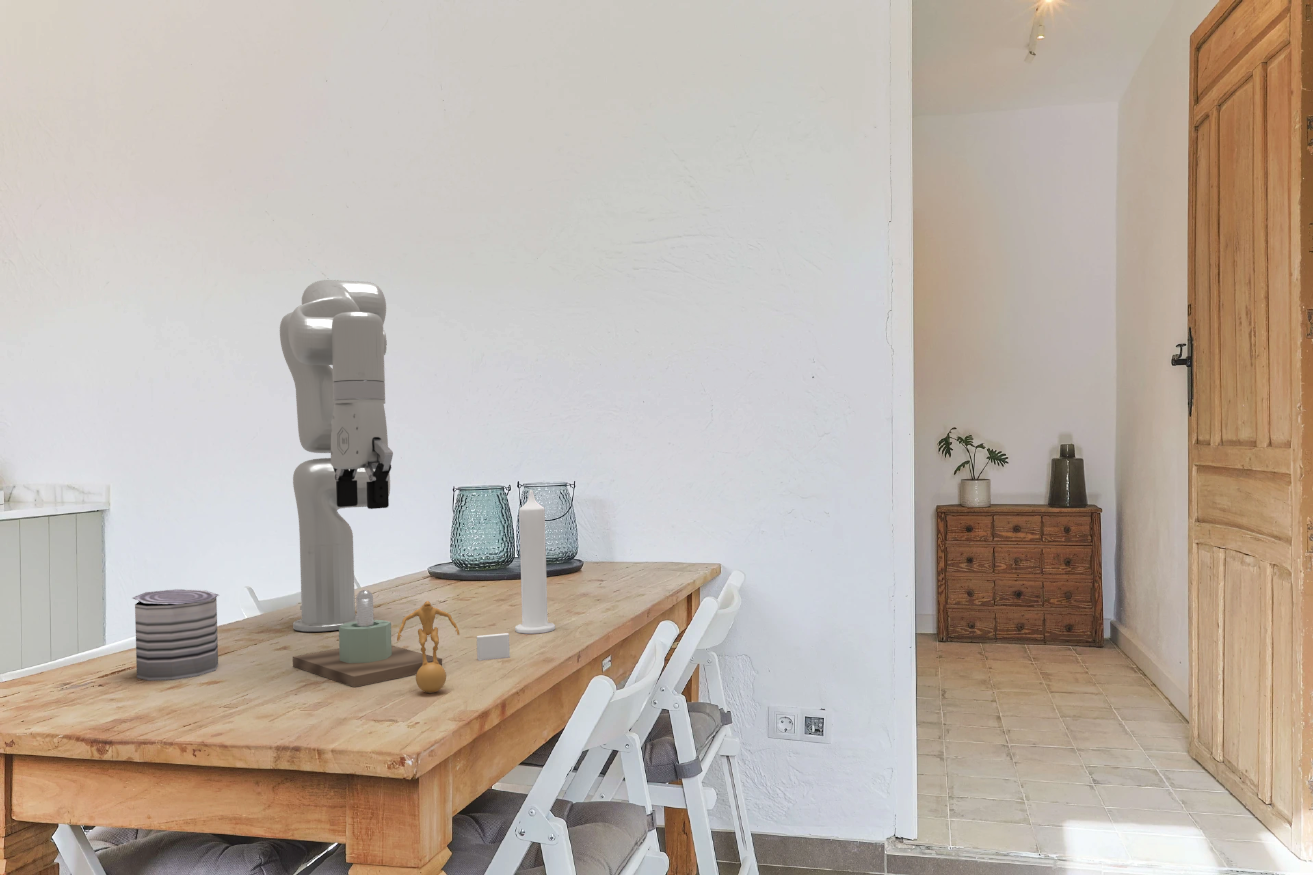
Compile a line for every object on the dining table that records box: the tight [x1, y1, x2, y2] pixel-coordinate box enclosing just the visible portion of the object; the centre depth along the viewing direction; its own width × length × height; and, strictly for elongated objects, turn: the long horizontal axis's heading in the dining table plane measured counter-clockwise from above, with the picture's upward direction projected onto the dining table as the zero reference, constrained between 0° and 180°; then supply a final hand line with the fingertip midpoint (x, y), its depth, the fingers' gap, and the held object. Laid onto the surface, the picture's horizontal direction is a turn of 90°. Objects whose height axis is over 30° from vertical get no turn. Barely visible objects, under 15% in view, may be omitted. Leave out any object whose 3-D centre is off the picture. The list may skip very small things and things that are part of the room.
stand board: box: [292, 645, 443, 688], centre depth 144 cm, size 20×14×2 cm
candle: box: [514, 489, 556, 635], centre depth 170 cm, size 7×7×25 cm
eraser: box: [476, 632, 511, 662], centre depth 148 cm, size 1×5×4 cm, turn 109°
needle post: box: [355, 589, 375, 627], centre depth 144 cm, size 2×2×10 cm
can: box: [132, 588, 220, 682], centre depth 145 cm, size 11×11×12 cm
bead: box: [338, 619, 393, 663], centre depth 144 cm, size 7×7×5 cm
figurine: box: [396, 600, 460, 694], centre depth 129 cm, size 8×6×12 cm
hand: (362, 507), depth 144 cm, fingers open, 9 cm apart
